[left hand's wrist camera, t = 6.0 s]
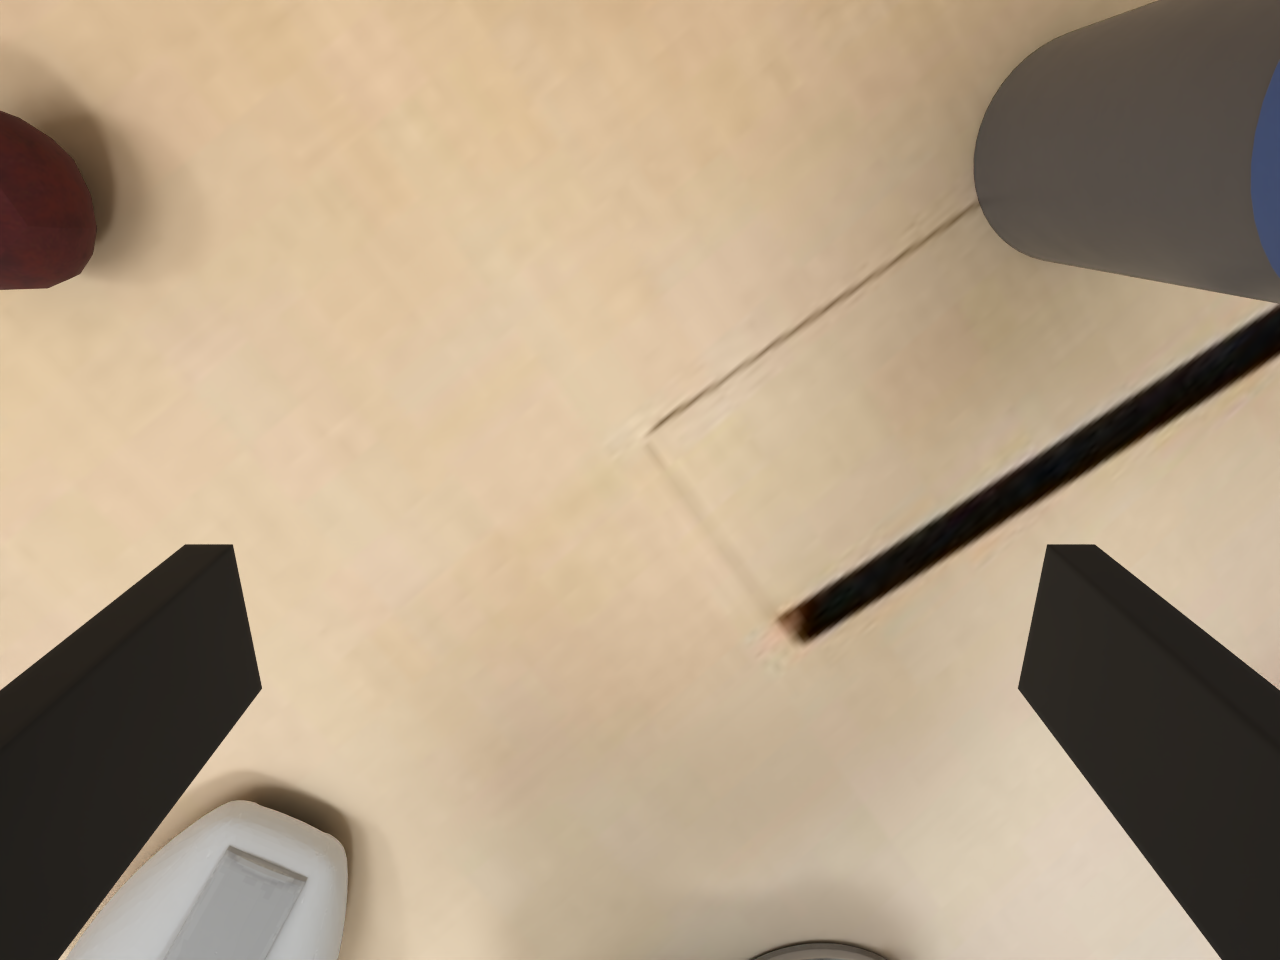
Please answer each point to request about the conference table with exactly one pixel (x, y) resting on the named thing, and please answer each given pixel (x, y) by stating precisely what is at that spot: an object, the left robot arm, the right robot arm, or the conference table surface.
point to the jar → (1138, 146)
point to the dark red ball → (40, 210)
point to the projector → (229, 894)
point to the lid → (1268, 173)
